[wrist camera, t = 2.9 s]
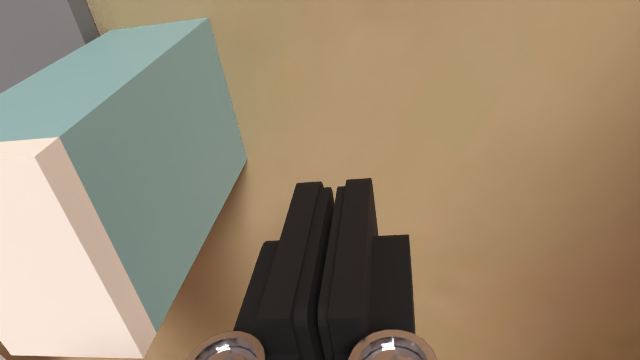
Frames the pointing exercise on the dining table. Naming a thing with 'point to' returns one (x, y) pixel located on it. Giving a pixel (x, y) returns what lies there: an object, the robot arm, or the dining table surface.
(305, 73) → the dining table surface
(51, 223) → the block
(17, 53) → the mat
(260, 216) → the dining table surface
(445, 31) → the dining table surface
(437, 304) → the dining table surface
